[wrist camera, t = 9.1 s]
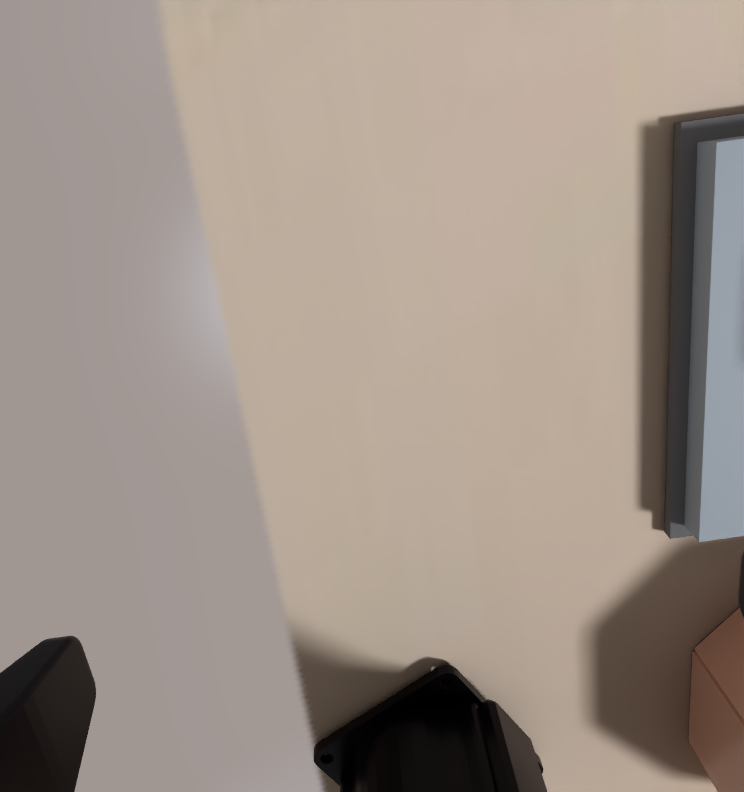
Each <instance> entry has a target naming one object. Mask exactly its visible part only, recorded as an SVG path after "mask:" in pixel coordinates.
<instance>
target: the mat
mask: <svg viewBox="0 0 744 792" xmlns="http://www.w3.org/2000/svg"><path fill="white" fill-rule="evenodd" d="M738 136H744V113H740V114H733V115H726V116H719V117H712V118H705V119H698V120H691V121H684V122H677V123H674V164H673V206H672V249H671V292H670V334H669V377H668V419H667V462H666V504H665V533H666V534H667V535H668V537H669V538H670V539H671V538H679V537H686V536H693V535H692V534H691V532H690V531H689V530H688V529H687V528H686V527H685V526H684V518H685V489H686V460H687V431H688V402H689V373H690V345H691V316H692V287H693V258H694V229H695V200H696V172H697V143H698V142H704V141H710V140H717V139H724V138H731V137H738Z"/></svg>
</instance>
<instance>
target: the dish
mask: <svg viewBox="0 0 744 792" xmlns="http://www.w3.org/2000/svg"><path fill="white" fill-rule="evenodd" d="M694 649H695V651H693V652H692V672H691V695H690V718H689V742H690V744H691V746H692V748H693V749H694V751H695V753H696V755H697V756H698V758H699V760H700V762H701V763H702V765H703V767H704V769H705V770H706V772H707V774H708V776H709V777H710V779H711V781H712V783H713V784H714V786H715V788H716V789H717V791H718V792H744V618H743V616H742V613H741V611H740V607H739V608H738V609H737V610H736V611H735V612H734V613H733V614H732V615H731V616H729V617H728V618H727V619H726V620H725V621H724V622H723V623H722V624H721V625H719V626H718V627H717V628H716V629H715V630H714V631H713V632H712V633H711V634H709V635H708V636H707V637H706V638H705V639H704V640H703V641H702V642H701V643H699V644H698V645H697V646H696V647H695V648H694Z"/></svg>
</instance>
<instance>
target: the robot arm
mask: <svg viewBox="0 0 744 792" xmlns="http://www.w3.org/2000/svg"><path fill="white" fill-rule="evenodd" d="M738 603H739V607H740V611H741V613H742V616H743V618H744V551H743V553H742V556H741V564H740V577H739V589H738ZM444 679H450V680H449V681H442V680H444ZM95 698H96V688H95V682H94V678H93V676H92V673H91V670H90V667H89V664H88V661H87V659H86V656H85V653H84V650H83V647H82V645H81V643H80V641H79V640H78V639H77V638H76V637H74V636H66V637H59V638H51V639H46V640H44V641H42V642H40V643H39V644H38V645H36V646H35V647H34V648H33V649H31V650H30V651H29V652H27V653H26V654H25V655H24V656H22V657H21V658H19V659H18V660H17V661H15V662H14V663H13V664H12V665H11V666H9V667H8V668H6V669H5V670H4V671H3V672H1V673H0V792H74V791H75V786H76V782H77V778H78V773H79V768H80V765H81V760H82V756H83V752H84V747H85V743H86V738H87V734H88V730H89V726H90V721H91V717H92V713H93V708H94V703H95ZM325 754H329V755H325ZM314 762H315V764H316V765H317V766H318V767H319V768H320V769H322V770H323V771H324V772H325V773H326V774H327V775H328V776H329V777H331V778H332V779H333V780H334V781H335V782H336V783H337V784H338V785H339V786H340V792H547V789H546V786H545V783H544V780H543V777H542V773H543V766H542V763H541V760H540V758H539V756H538V755H537V754H536V753H535V751H534V748H533V745H532V742H531V740H530V738H529V737H528V736H527V735H526V734H525V733H524V732H523V731H522V730H521V728H520V727H519V726H518V725H517V724H516V723H515V722H514V721H513V720H512V719H511V718H510V717H509V716H508V715H507V713H506V712H505V711H504V710H503V709H502V708H501V707H500V706H499V705H498V704H497V703H496V702H494V701H492V700H489V699H488V700H485V699H484V698H483V696H482V695H481V694H480V693H479V692H478V691H477V690H476V689H475V688H474V687H473V686H472V685H471V684H470V683H469V682H468V681H467V679H466V678H465V677H464V676H463V675H462V674H461V673H460V672H459V671H458V670H457V669H456V668H454V667H453V666H450V665H442V666H440V667H438V668H436V669H434V670H433V671H431V672H430V673H428V674H426V675H425V676H423V677H422V678H420V679H418V680H417V681H415V682H414V683H412V684H410V685H409V686H407V687H406V688H404V689H402V690H401V691H399V692H398V693H396V694H395V695H393V696H391V697H390V698H388V699H387V700H385V701H383V702H382V703H380V704H379V705H377V706H375V707H374V708H372V709H371V710H369V711H367V712H366V713H364V714H363V715H361V716H360V717H358V718H356V719H355V720H353V721H352V722H350V723H348V724H347V725H345V726H344V727H342V728H340V729H339V730H337V731H336V732H334V733H332V734H331V735H329V736H328V737H326V738H325V739H323V740H321V741H320V742H318V743H317V744H316V745H315V748H314Z"/></svg>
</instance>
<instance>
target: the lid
mask: <svg viewBox="0 0 744 792" xmlns="http://www.w3.org/2000/svg"><path fill="white" fill-rule="evenodd" d="M684 526H685V527H686V528H687V529H688V530H689V531H690V532H691V534H692V535H693V536H694V537H695V538H696V539H697V540H698V542H704V541H711V540H718V539H726V538H733V537H740V536H744V136H738V137H731V138H724V139H717V140H710V141H704V142H698V143H697V172H696V200H695V229H694V258H693V287H692V316H691V345H690V373H689V402H688V431H687V460H686V489H685V518H684Z"/></svg>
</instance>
